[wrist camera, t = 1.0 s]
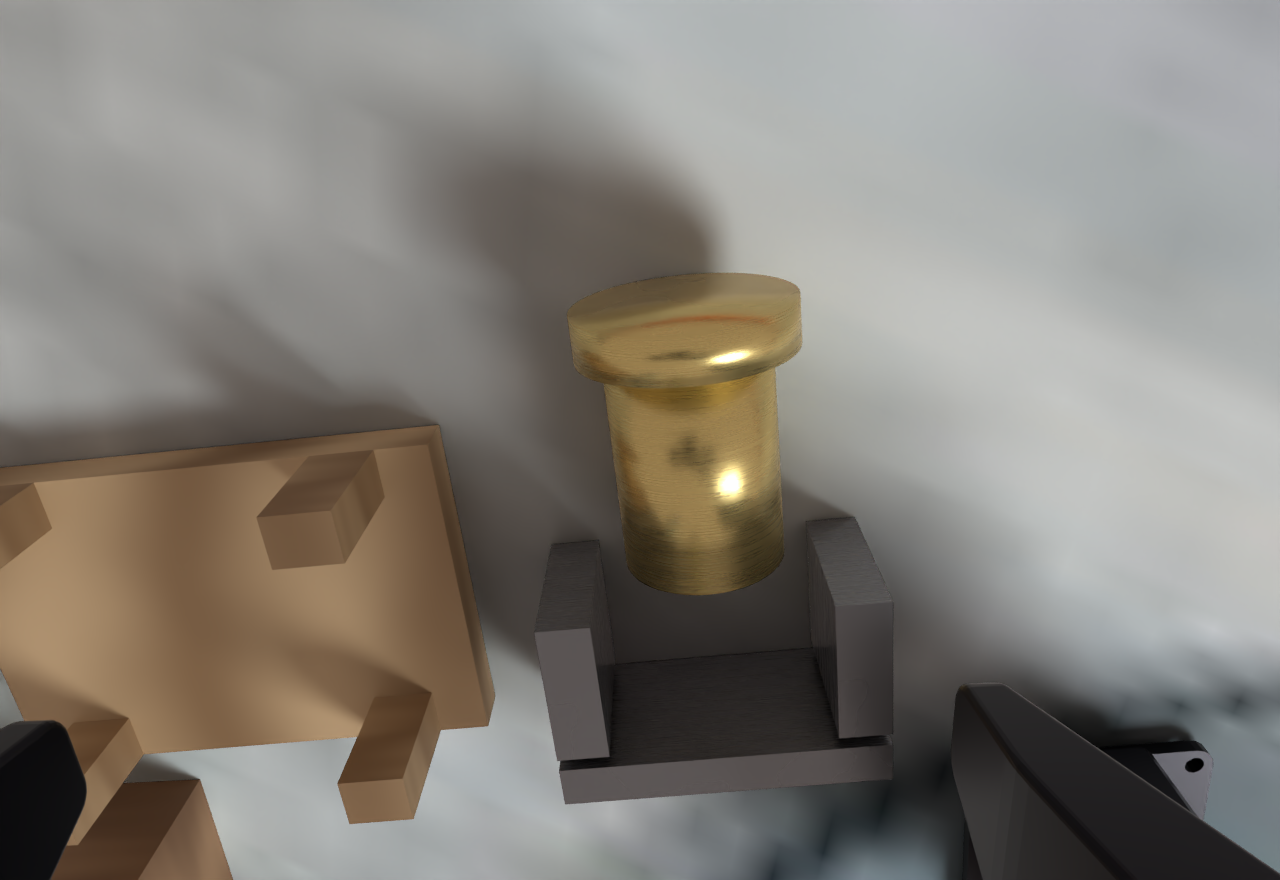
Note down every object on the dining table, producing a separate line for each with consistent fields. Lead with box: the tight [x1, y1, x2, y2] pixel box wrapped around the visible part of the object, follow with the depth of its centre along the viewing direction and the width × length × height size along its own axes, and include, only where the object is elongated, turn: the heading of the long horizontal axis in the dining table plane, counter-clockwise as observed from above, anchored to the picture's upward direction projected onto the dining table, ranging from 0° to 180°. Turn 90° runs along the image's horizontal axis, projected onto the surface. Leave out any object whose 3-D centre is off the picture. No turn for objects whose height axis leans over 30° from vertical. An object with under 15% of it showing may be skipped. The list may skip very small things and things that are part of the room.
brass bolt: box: [567, 273, 802, 595], centre depth 19 cm, size 6×5×5 cm
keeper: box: [534, 517, 893, 804], centre depth 22 cm, size 5×8×4 cm, turn 96°
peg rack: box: [0, 425, 495, 846], centre depth 21 cm, size 12×8×4 cm, turn 96°
